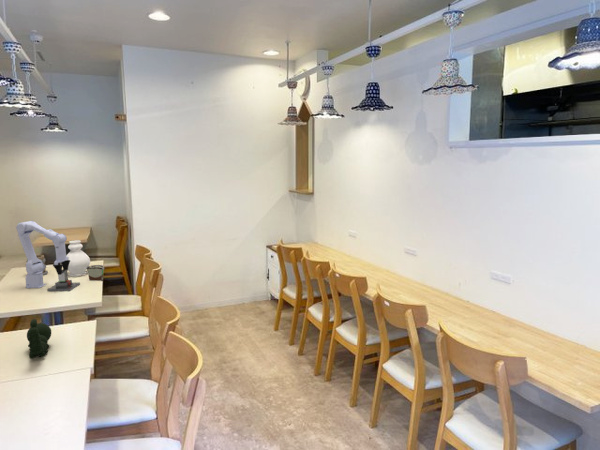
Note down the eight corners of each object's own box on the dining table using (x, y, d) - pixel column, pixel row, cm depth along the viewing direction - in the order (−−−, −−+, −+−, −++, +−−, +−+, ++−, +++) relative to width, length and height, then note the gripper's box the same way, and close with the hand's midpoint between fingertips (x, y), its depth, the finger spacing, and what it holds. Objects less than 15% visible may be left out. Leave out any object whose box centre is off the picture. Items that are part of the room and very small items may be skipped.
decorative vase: (67, 272, 312) (64, 239, 308) (93, 270, 317) (90, 238, 314) (61, 278, 295) (58, 244, 291) (88, 276, 301) (86, 242, 297)
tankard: (28, 273, 308) (26, 254, 306) (48, 271, 314) (46, 252, 311) (24, 280, 290) (21, 259, 288) (45, 278, 296) (42, 258, 293)
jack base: (47, 291, 266) (46, 283, 265) (58, 285, 280) (58, 277, 279) (69, 291, 267) (69, 283, 266) (80, 284, 280) (79, 277, 280)
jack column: (58, 281, 270) (57, 270, 269) (61, 279, 274) (60, 269, 273) (65, 281, 271) (64, 270, 269) (68, 279, 275) (67, 269, 273)
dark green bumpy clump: (50, 364, 175) (53, 337, 196) (45, 323, 170) (49, 300, 192) (23, 369, 170) (30, 341, 192) (18, 327, 166) (25, 303, 187)
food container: (108, 278, 295) (107, 264, 294) (103, 280, 289) (102, 267, 288) (92, 277, 296) (91, 264, 295) (87, 280, 290) (86, 266, 289)
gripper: (61, 255, 263) (63, 275, 265) (72, 250, 277) (74, 269, 279) (49, 255, 262) (52, 275, 264) (61, 250, 276) (63, 270, 279)
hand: (62, 272), depth 272 cm, fingers open, 7 cm apart
